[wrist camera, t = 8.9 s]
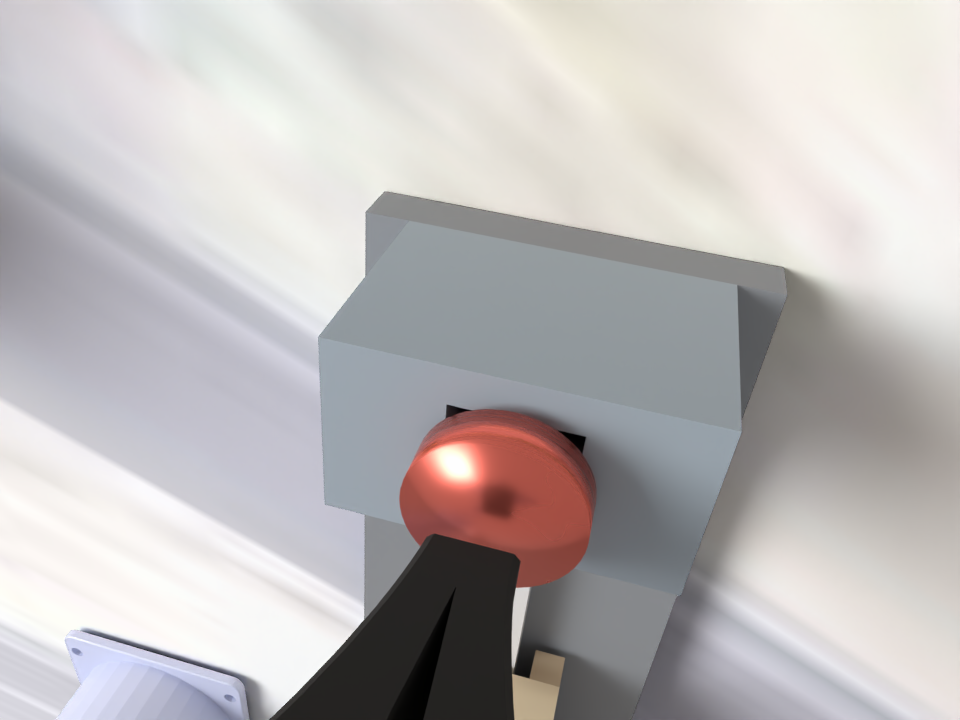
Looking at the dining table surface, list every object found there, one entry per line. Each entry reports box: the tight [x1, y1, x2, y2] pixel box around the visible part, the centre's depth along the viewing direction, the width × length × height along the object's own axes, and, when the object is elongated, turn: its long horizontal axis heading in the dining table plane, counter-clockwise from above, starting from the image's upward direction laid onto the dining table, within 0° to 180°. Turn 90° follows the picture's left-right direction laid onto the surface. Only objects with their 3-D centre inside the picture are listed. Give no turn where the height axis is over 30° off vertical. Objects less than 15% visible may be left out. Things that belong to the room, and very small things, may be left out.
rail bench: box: [318, 191, 788, 720], centre depth 22 cm, size 23×9×6 cm, turn 175°
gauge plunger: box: [399, 409, 597, 588], centre depth 14 cm, size 3×3×4 cm
